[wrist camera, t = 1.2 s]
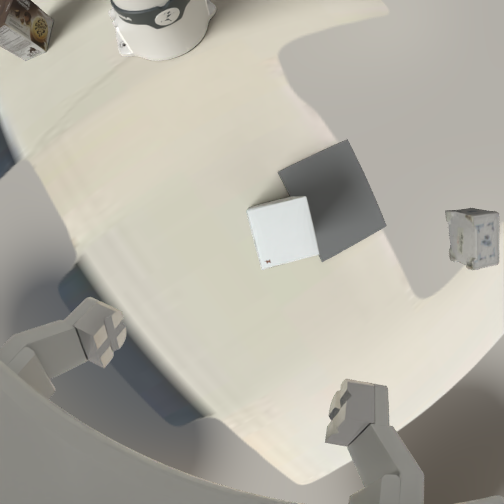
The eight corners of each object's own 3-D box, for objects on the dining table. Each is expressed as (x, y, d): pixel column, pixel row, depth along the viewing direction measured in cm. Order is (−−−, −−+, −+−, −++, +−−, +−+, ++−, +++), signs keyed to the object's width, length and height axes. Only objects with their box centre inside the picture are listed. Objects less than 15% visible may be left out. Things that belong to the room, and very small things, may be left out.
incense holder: (440, 211, 48) (475, 214, 38) (468, 207, 48) (503, 210, 38) (442, 261, 50) (476, 273, 40) (469, 254, 50) (503, 264, 40)
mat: (277, 172, 46) (277, 171, 45) (346, 139, 45) (347, 139, 45) (321, 261, 48) (322, 262, 48) (385, 225, 48) (386, 226, 48)
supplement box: (303, 240, 47) (321, 257, 35) (258, 252, 48) (259, 272, 35) (293, 195, 46) (307, 195, 34) (246, 206, 46) (244, 210, 34)
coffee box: (32, 30, 37) (-6, 2, 21) (54, 20, 37) (18, -13, 21) (24, 62, 38) (-20, 37, 22) (47, 52, 39) (4, 22, 23)
